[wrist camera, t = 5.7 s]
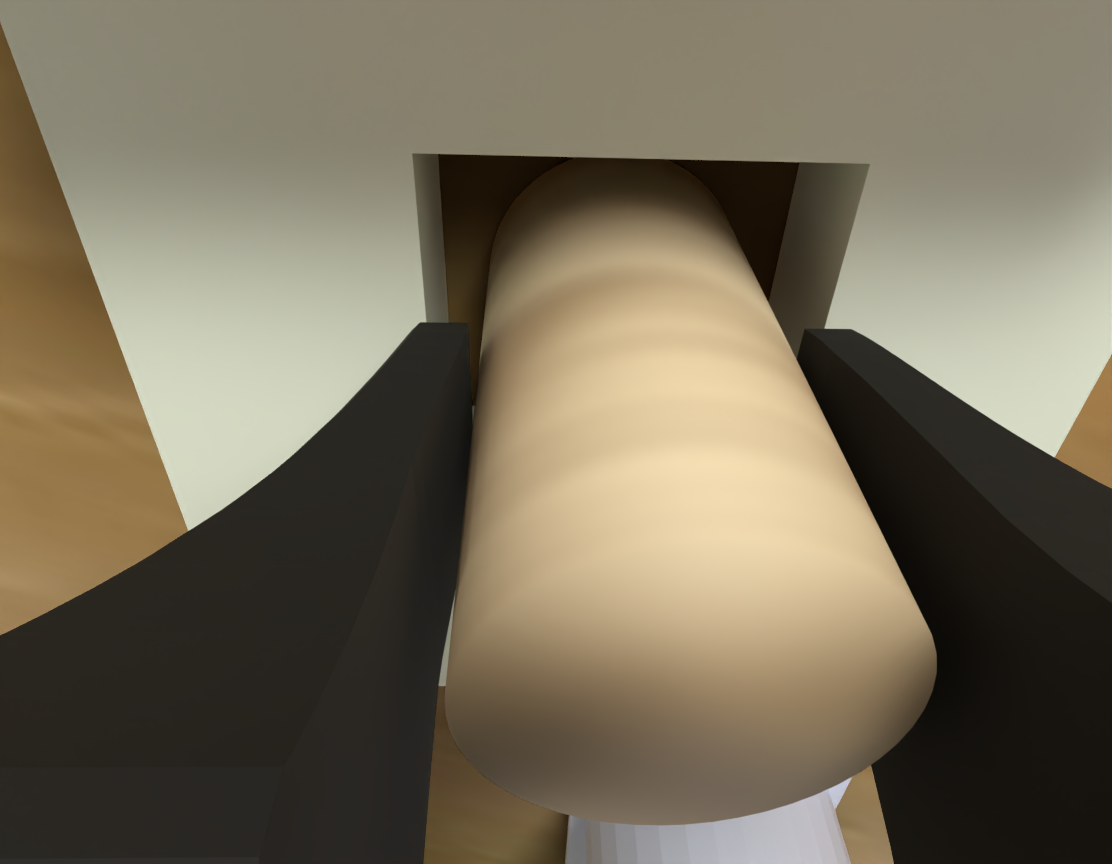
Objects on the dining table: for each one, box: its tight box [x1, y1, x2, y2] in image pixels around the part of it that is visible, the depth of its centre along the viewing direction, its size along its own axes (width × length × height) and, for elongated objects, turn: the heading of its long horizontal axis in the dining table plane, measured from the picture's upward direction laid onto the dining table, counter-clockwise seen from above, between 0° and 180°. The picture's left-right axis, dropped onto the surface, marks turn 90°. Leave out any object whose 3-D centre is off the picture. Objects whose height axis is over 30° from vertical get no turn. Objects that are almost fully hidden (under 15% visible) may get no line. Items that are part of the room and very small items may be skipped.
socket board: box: [0, 0, 1112, 686], centre depth 11 cm, size 18×14×2 cm
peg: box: [445, 157, 937, 825], centre depth 10 cm, size 4×4×8 cm
